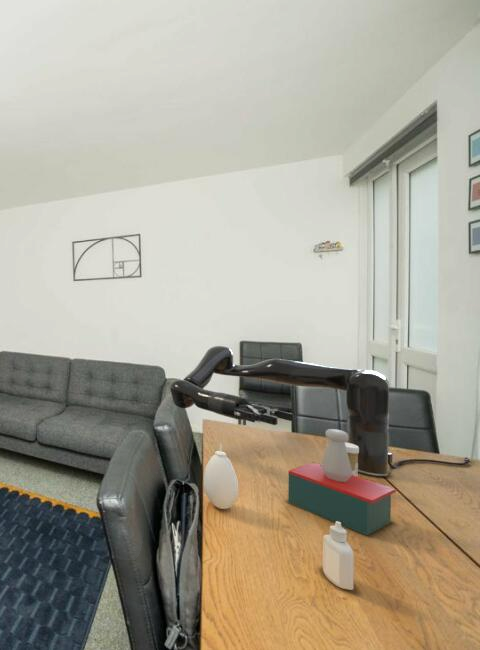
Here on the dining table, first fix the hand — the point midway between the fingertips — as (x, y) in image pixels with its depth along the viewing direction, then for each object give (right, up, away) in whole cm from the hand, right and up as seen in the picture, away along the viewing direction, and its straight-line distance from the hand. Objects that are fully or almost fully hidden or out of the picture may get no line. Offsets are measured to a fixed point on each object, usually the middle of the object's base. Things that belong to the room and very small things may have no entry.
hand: (285, 419), depth 106 cm
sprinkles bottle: (+20, -22, +2) cm, 30 cm away
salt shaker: (+4, -13, -10) cm, 17 cm away
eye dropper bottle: (-19, -23, -33) cm, 45 cm away
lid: (+5, -13, -11) cm, 18 cm away
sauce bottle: (-25, -22, -7) cm, 34 cm away
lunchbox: (+5, -22, -10) cm, 25 cm away
